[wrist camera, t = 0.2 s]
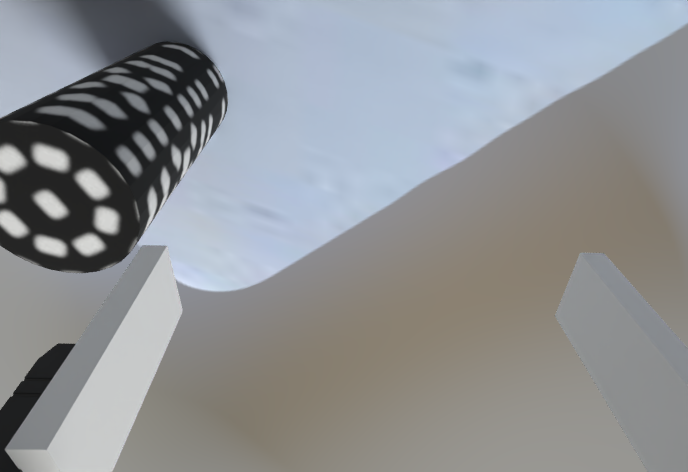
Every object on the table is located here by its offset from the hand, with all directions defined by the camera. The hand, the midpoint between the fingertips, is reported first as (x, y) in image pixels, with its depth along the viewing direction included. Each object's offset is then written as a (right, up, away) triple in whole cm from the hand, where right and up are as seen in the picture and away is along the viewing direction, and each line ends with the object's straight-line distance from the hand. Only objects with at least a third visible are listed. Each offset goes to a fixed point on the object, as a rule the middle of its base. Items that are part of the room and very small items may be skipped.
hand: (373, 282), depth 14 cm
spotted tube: (-15, +14, +24) cm, 31 cm away
